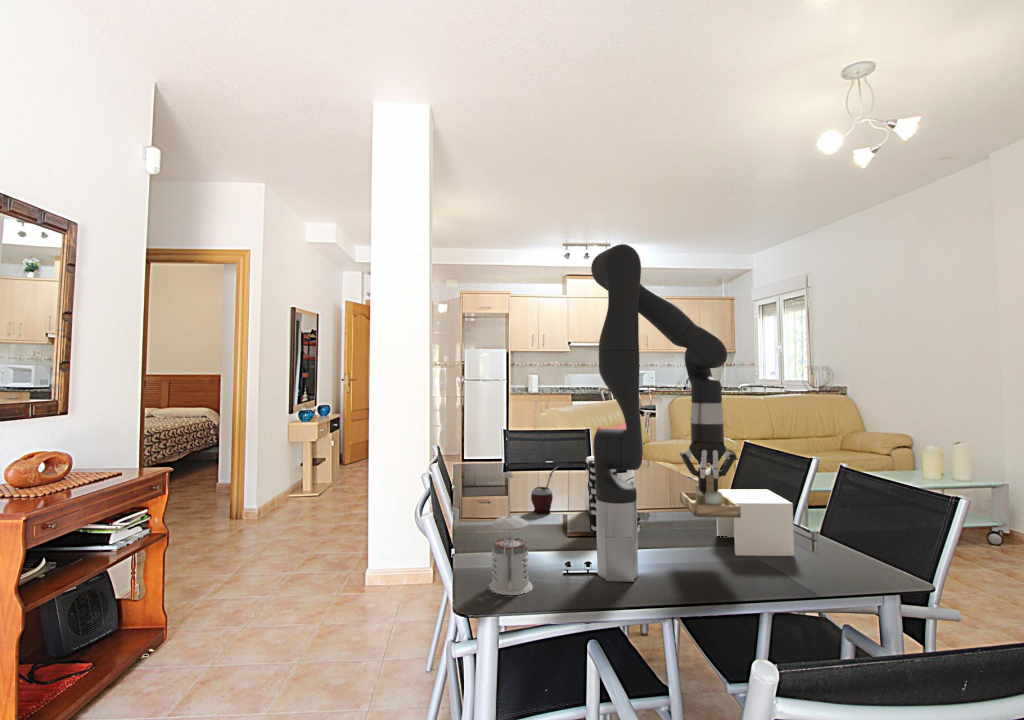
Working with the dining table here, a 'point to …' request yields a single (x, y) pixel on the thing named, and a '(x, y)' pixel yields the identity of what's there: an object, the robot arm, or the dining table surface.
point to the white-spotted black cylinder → (593, 495)
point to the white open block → (759, 523)
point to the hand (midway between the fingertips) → (708, 493)
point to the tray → (710, 509)
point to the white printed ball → (621, 474)
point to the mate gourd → (542, 498)
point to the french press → (510, 556)
